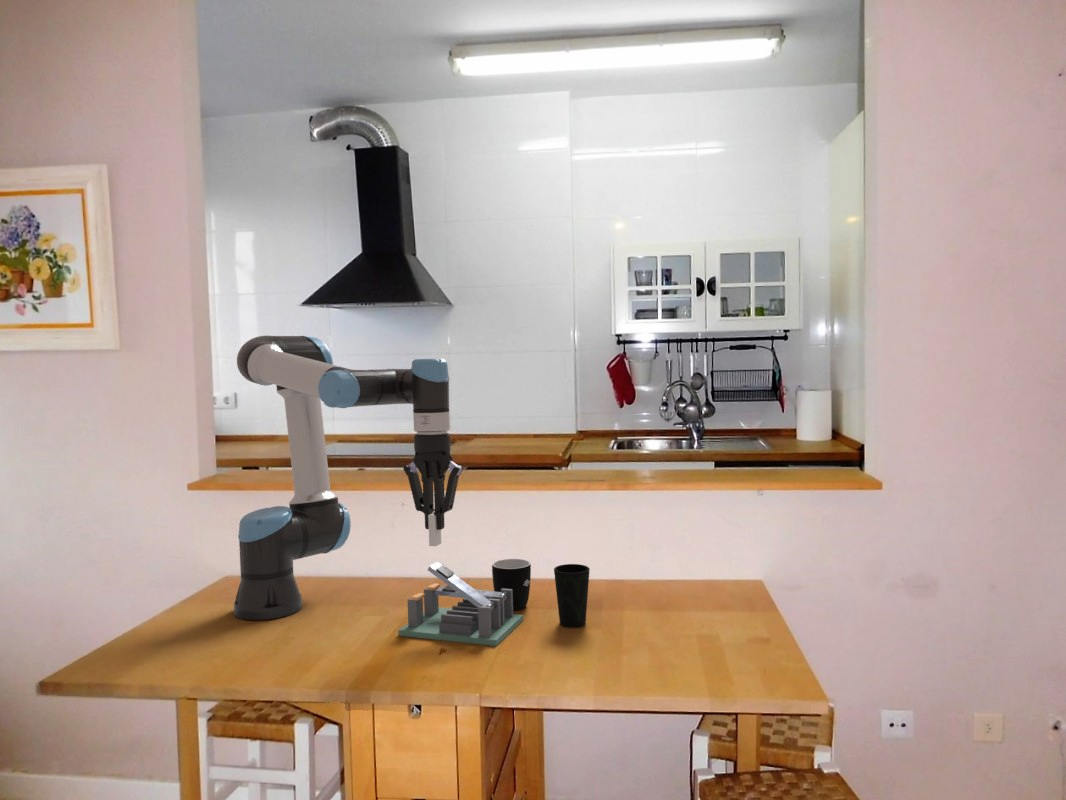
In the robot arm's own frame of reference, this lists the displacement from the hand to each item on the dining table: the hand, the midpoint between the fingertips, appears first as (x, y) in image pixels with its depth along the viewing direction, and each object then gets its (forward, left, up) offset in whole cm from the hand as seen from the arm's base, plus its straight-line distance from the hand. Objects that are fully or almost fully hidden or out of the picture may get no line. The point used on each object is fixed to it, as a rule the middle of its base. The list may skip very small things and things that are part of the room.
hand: (435, 544), depth 160 cm
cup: (+26, +13, -19) cm, 35 cm away
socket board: (+4, +4, -19) cm, 20 cm away
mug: (+9, +22, -19) cm, 30 cm away
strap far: (+5, +8, -13) cm, 16 cm away
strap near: (+5, 0, -9) cm, 11 cm away
